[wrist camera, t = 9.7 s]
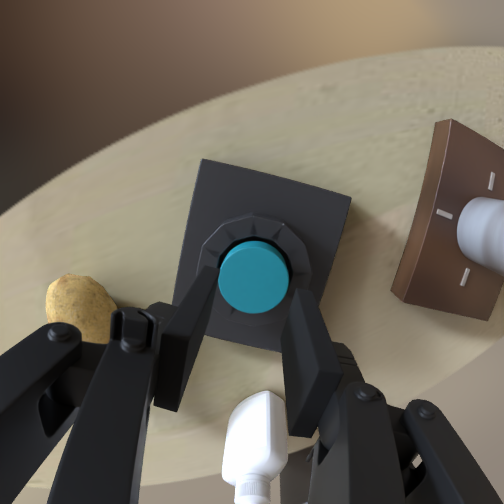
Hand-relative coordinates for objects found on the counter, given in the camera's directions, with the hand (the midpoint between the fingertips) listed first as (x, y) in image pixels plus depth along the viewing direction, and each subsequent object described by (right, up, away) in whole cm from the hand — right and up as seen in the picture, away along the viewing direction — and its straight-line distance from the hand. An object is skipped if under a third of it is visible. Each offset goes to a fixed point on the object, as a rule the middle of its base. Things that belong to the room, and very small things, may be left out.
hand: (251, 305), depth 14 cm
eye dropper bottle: (0, -12, +12) cm, 17 cm away
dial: (+17, +4, +5) cm, 19 cm away
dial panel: (+18, +5, +7) cm, 20 cm away
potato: (-13, -4, +11) cm, 17 cm away
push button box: (0, +2, +9) cm, 9 cm away
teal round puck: (0, +1, +5) cm, 5 cm away
